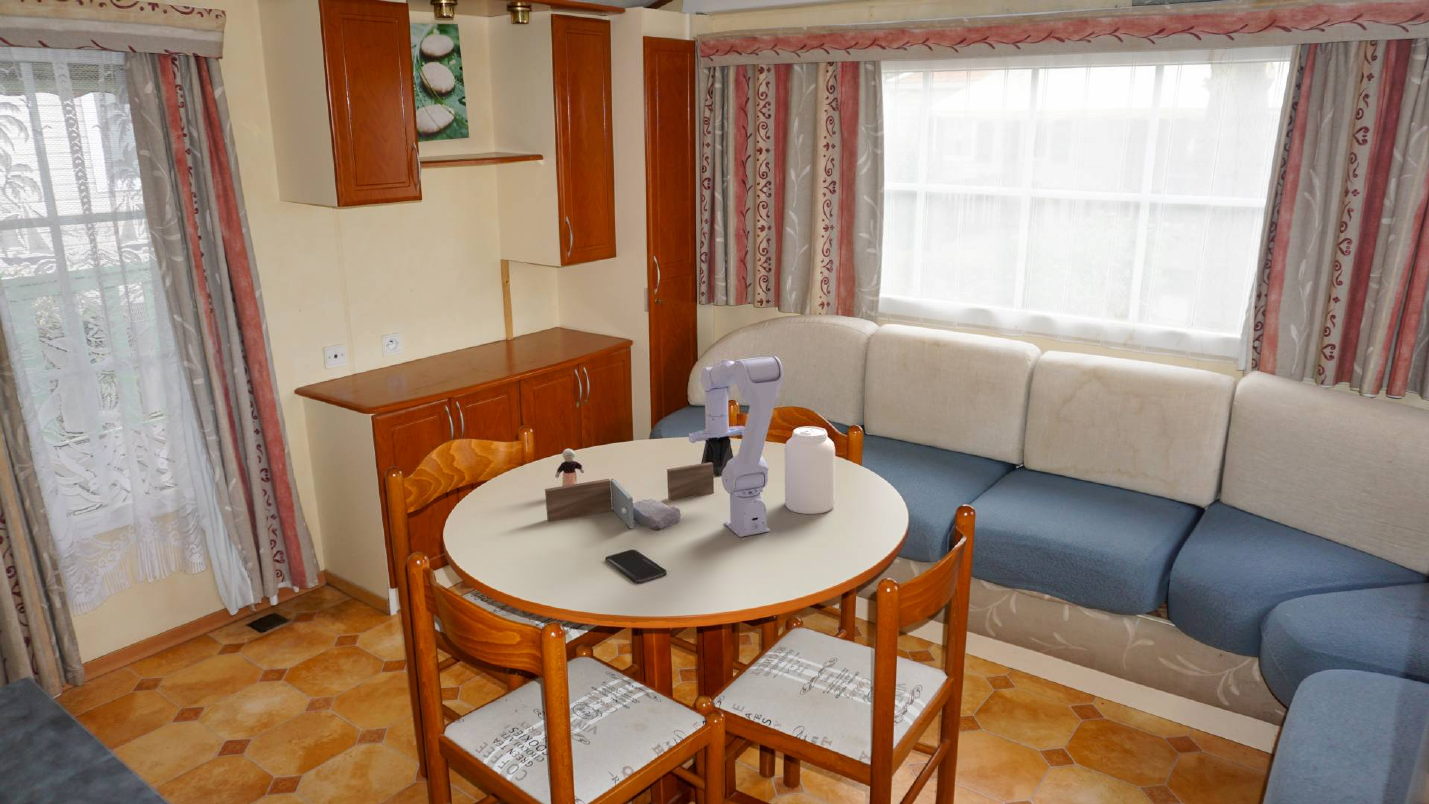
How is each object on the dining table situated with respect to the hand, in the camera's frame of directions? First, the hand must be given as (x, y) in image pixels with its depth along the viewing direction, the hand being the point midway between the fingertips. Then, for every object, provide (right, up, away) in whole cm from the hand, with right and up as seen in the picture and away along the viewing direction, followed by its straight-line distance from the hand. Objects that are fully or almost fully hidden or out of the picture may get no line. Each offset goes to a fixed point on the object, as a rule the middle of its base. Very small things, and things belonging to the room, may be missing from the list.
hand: (718, 465), depth 247 cm
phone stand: (0, -3, +28) cm, 28 cm away
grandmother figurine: (-39, -9, +12) cm, 41 cm away
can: (+23, -10, 0) cm, 25 cm away
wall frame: (-22, -10, +3) cm, 24 cm away
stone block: (-15, -13, -5) cm, 21 cm away
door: (-24, -13, -5) cm, 28 cm away
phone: (-18, -21, -32) cm, 42 cm away
